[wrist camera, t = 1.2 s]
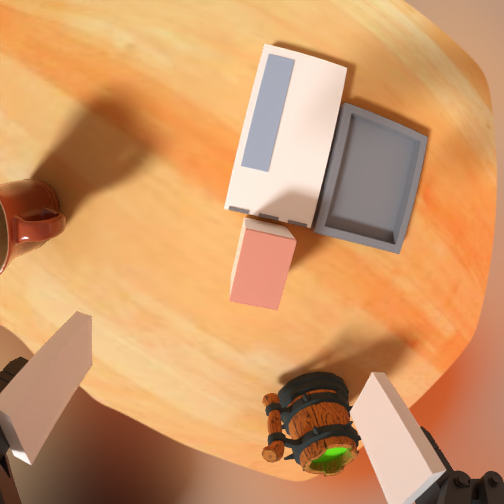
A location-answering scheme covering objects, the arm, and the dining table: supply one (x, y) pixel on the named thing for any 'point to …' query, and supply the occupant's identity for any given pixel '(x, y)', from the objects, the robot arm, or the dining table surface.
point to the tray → (369, 180)
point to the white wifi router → (286, 137)
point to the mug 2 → (312, 424)
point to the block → (261, 264)
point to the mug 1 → (27, 218)
